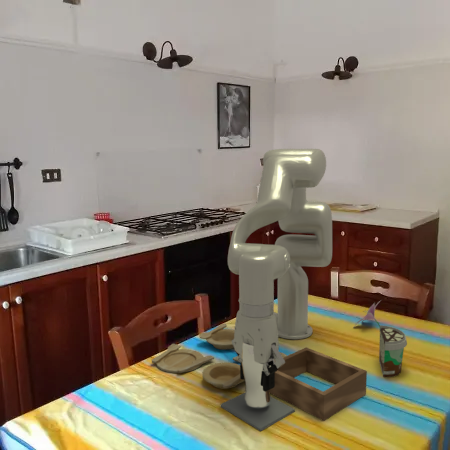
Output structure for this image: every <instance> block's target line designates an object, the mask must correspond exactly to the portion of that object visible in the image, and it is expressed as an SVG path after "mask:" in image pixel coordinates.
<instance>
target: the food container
mask: <svg viewBox="0 0 450 450" xmlns="http://www.w3.org/2000/svg"><path fill="white" fill-rule="evenodd" d="M379 325H380V324H379ZM407 345H408V342H407V336H406V334H405V333H404V332H403V331H402V330H401V329H399V328H396V327H394V326H393V327H392V326H388V325H380V327H379V350H378V352H379V353H378V361H379V365H380V371H381V374H382V377H383V378H391V377H393V378H394V377H397V376H399V375H400V374H401V371H402V365H403V357H404V349H405V348H406V347H407Z"/></svg>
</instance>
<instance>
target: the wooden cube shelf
mask: <svg viewBox="0 0 450 450" xmlns="http://www.w3.org/2000/svg"><path fill="white" fill-rule="evenodd" d="M289 354H290V355H289ZM289 354H288V355H287V356H286V357H284V358H283V359H284V360H285V364H284V365H283V366H282V367H280V369H278V370H277V371H276V372H275V386H274V388H272V389H270V390H269V394H271V395H274V396H275V397H276V398H279V399H281V400H283V401H284V402H287V403H289V404H291V405H292V406H294V407H296V408H298V409H300V410H302V411H304V412H305V413H307V414H310V415H312V416H314V417H315V418H318V419H319V420H320V421H324V422H325V421H326V420H328V419H329V418H331V417H333V416H334V415H335V414H337V413H339V412H340V411H342V410H343V409H345V408H347V407H348V406H350V405H351V404H353V403H355V402H356V401H357V400H360V399H361V398H363V397H364V396H366V395H367V378H368V377H367V375H368V371H367V370H365V369H363V368H360V367H358V366H355V365H352V364H350V363H347V362H345V361H342V360H340V359H337V358H334V357H332V356H329V355H326V354H324V353H323V352H319V351H316V350H314V349H311V348H309V347H307V346H306V347H303V348H302V349H299V350H297V351H295V352H293V353H289ZM306 372H307V373H309V374H312V375H314V376H317V377H319V378H321V379H323V380H326V381H328V382H331V383H333V384H334V385H332V386H331V387H329V388H327V389H325V390H320V389H319V388H316V387H314V386H312V385H310V384H308V383H306V382H304V381H302V380H299V379H297V378H296V377H298V376H300V375H302V374H304V373H306Z"/></svg>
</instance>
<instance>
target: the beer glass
mask: <svg viewBox="0 0 450 450" xmlns="http://www.w3.org/2000/svg"><path fill="white" fill-rule="evenodd" d="M253 349H254V346H253V345H249V344H247V343H245V342H244V341H242V352H241V361H242V369H243V374H244V379H245V380H244V385H245V392H244V393H245V396H244V403H245V404H246V405H247V406H248V407H251V408H255V409H260V408H265V407H267V406H268V405H269V404H270V402H271V399H270V396H271V395H270V394H271V393H269V390H268V391H266V392H265V391H263V374H265V372H264V368H263V364H259V363H257V362H255V361H254V351H253ZM270 358H271V355H270ZM268 367H269V368H270V367H271V365H270V362H268Z"/></svg>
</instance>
